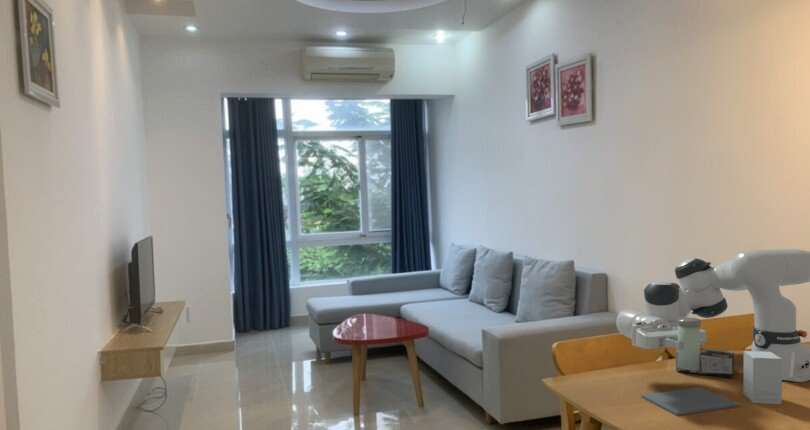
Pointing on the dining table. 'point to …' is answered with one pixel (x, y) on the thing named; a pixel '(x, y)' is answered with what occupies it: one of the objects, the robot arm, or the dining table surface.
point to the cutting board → (689, 401)
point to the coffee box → (713, 363)
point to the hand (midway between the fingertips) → (690, 344)
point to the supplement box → (762, 377)
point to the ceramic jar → (689, 343)
